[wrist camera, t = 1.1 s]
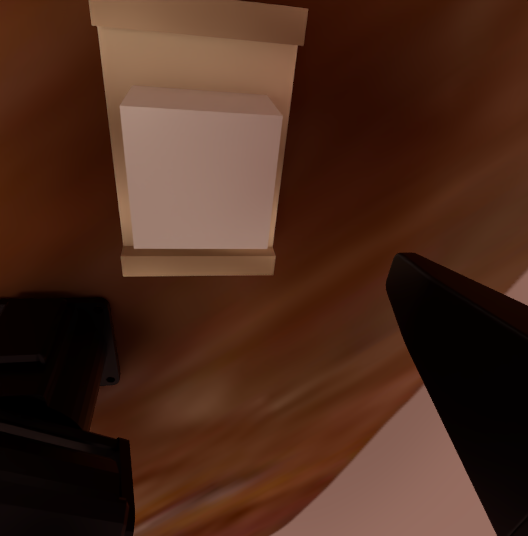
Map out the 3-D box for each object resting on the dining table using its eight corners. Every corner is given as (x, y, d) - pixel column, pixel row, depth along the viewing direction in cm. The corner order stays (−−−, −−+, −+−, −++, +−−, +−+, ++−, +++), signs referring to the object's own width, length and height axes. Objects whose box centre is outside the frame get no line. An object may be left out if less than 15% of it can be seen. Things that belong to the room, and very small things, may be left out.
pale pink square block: (256, 211, 17) (267, 248, 14) (142, 209, 16) (134, 248, 13) (267, 95, 14) (282, 116, 12) (132, 85, 13) (119, 105, 11)
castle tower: (260, 233, 21) (273, 275, 18) (133, 232, 20) (123, 276, 17) (284, 5, 15) (308, 8, 12) (109, -15, 14) (86, -17, 11)
